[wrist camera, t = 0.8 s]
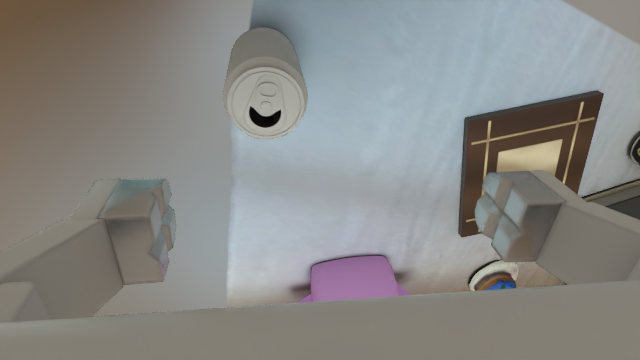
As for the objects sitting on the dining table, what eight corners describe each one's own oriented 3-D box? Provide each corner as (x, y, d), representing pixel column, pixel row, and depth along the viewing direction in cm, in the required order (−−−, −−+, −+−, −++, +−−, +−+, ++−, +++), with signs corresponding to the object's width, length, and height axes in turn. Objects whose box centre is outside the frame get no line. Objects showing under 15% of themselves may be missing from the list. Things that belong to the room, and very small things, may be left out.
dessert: (468, 303, 63) (487, 314, 57) (458, 263, 63) (475, 270, 57) (514, 290, 64) (537, 299, 58) (503, 251, 64) (525, 256, 58)
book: (570, 200, 55) (585, 214, 52) (676, 166, 54) (696, 178, 51) (563, 295, 67) (575, 310, 64) (649, 269, 66) (665, 282, 63)
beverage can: (229, 86, 40) (219, 140, 30) (233, 19, 36) (224, 55, 26) (291, 94, 41) (302, 148, 31) (301, 31, 38) (316, 69, 28)
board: (464, 117, 45) (469, 121, 44) (597, 90, 46) (604, 93, 45) (458, 233, 55) (461, 238, 54) (567, 209, 56) (572, 214, 55)
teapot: (413, 246, 56) (442, 304, 47) (408, 296, 61) (432, 356, 53) (287, 262, 54) (292, 326, 45) (293, 312, 60) (299, 376, 51)
